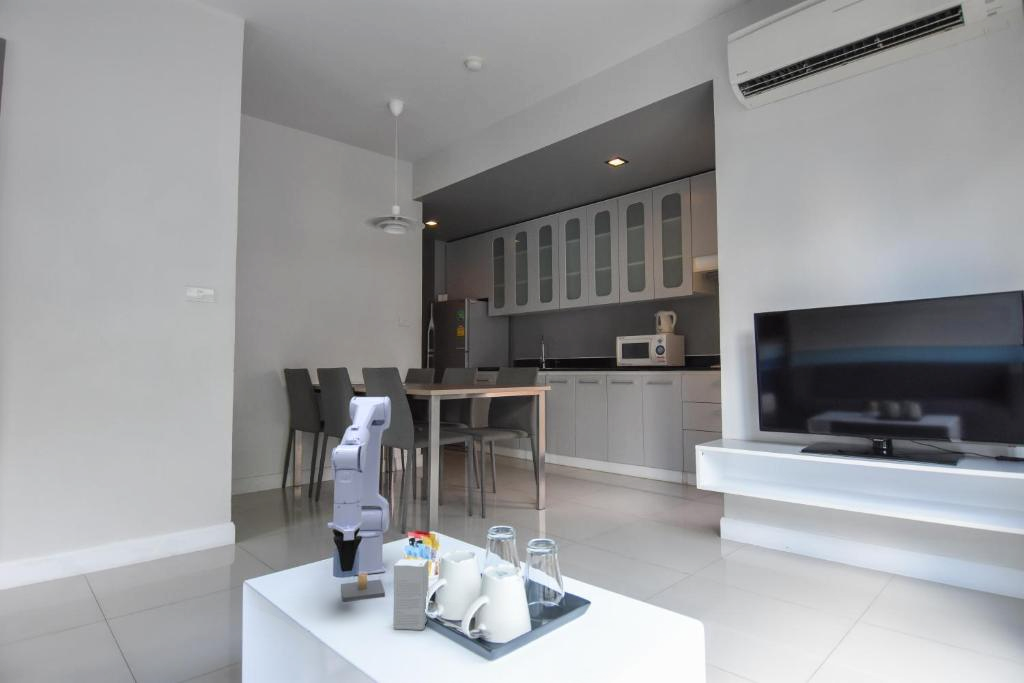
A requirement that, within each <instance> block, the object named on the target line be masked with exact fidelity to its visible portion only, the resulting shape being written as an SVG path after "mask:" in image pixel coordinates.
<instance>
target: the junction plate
mask: <svg viewBox="0 0 1024 683" xmlns="http://www.w3.org/2000/svg"><path fill="white" fill-rule="evenodd" d="M340 590H341V591H340V593H341V599H342V602H350V601H351V602H352V601H357V600H366V599H374V598H375V599H376V598H383V597H386V591H385V589H384V586H383V583H382V580H381V579H375V580H368V574H367V573H361V574H359V575H357V581H355V582H346V583H341V584H340Z"/></svg>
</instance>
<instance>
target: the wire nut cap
mask: <svg viewBox="0 0 1024 683" xmlns="http://www.w3.org/2000/svg"><path fill="white" fill-rule="evenodd" d="M332 557H333V559H332V563H333V564H332V576H333V577H335V578H342V579H343V578H344V579H345V578H351V577H355V576H358V575H357V574H358V573H359V547H358V549H357V551H356V555H355V560H354V565H353V569H352V571H345V572H342V571H341V566H340V558H339V552H338V549H337V547H336V548H334V549H333V556H332Z"/></svg>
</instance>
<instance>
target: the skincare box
mask: <svg viewBox="0 0 1024 683" xmlns="http://www.w3.org/2000/svg"><path fill="white" fill-rule="evenodd" d="M429 566H430V564H429V559H415V558H413V559H410V558H409V559H408V558H407V559H406V558H400V559H399V560H398V561H397V562H396V563H395V564H394V565H393V625H392V626H393V627H392V628H393V630H417V631H423V630H424V629H425V628H426V626H425V618H426V613H425V609H426V596H427V591H428V592H429Z"/></svg>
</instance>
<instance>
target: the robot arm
mask: <svg viewBox="0 0 1024 683" xmlns="http://www.w3.org/2000/svg"><path fill="white" fill-rule="evenodd" d="M348 409H349V412H348V413H349V417H350V420H351V422H352V425H349V426H348V427H347V428H346V429H345V432H344V434H343V437H342V439H341V442H340V444H338V445H337V447H334V448H333V449H332V453H331V464H330V465H331V470H332V480H333V481H334V489H333V490H334V491H333V521H332V522H328V523H327V529H332V534H333V535H334V536H333V541H334V544H335V546H336V548H337V549H338V552H339V558H340V566H341V571H342V572H345V571H352V569H353V565H354V560H355V555H356V551H357V549H358V547H359V573H358V574H357V575H356V576H358V575H359V574H361V573H367V575H369V574H380V573H385V572H386V567H385V566H384V563H383V550H384V549H383V545H384V544H383V543H384V541H383V540H384V539H383V538H384V537H383V536H384V533H386V532H387V531H388V530H389V526H390V503H389V501H388V500H387V498H385V497H384V496H382V495H381V494H380V493H379V492H380V487H379V486H380V475H381V474H380V473H381V471H380V470H381V450H382V448H381V446H382V437H383V433H384V431H385V430H388V429H389V428H390V425H391V416H392V415H391V413H392V403H391V399H390V397H389V396H353V397H352V398H351V399H350V401H349V408H348Z"/></svg>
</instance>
